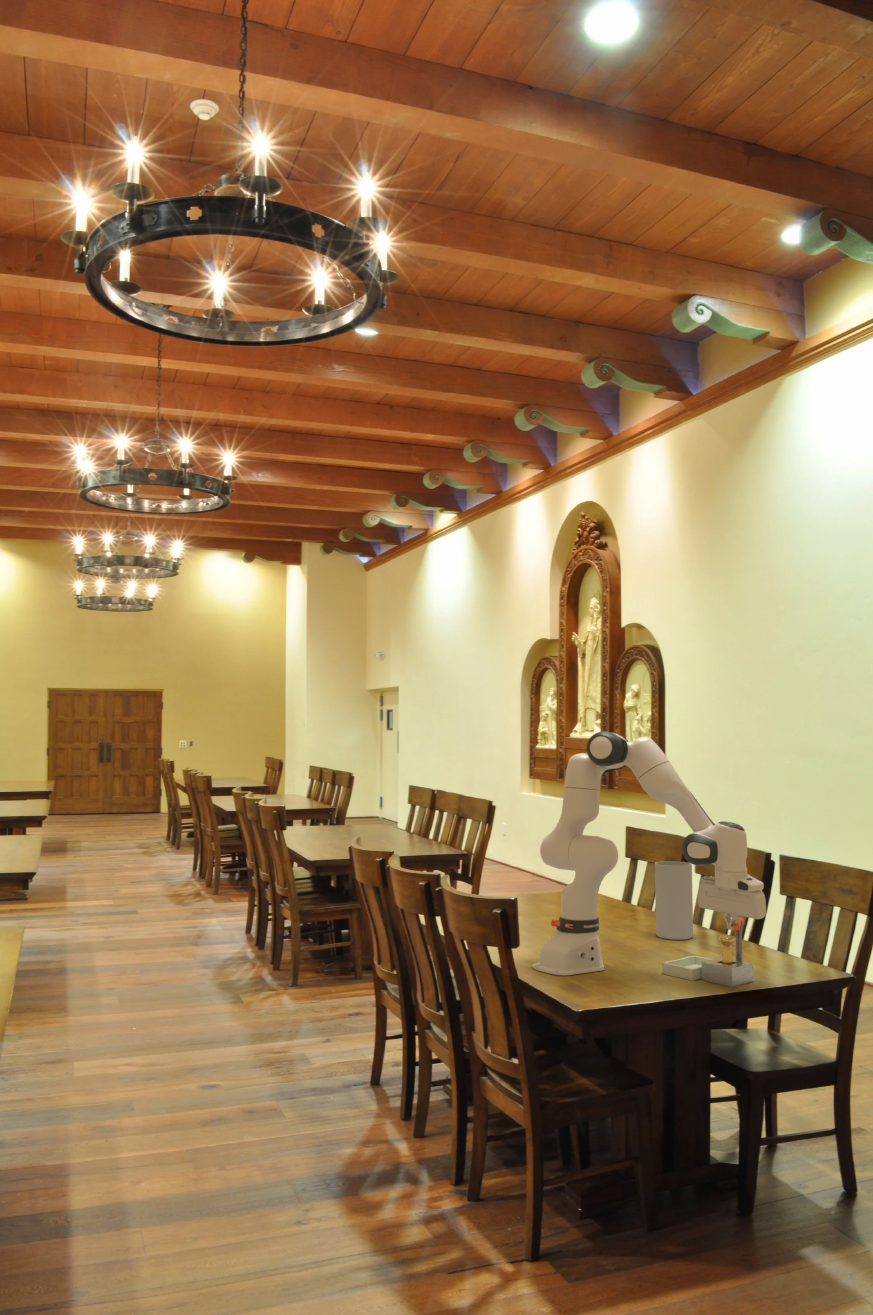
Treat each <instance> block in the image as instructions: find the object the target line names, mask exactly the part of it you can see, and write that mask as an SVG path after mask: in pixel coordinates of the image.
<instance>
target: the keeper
mask: <svg viewBox="0 0 873 1315" xmlns="http://www.w3.org/2000/svg"><path fill="white" fill-rule="evenodd" d="M741 925H742V926H743V925H745V918H741V917H738V919H737V921H736V922H735V923H734V925H733V930H732V931H735V930H739V929H740V926H741Z"/></svg>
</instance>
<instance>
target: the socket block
mask: <svg viewBox="0 0 873 1315" xmlns="http://www.w3.org/2000/svg"><path fill="white" fill-rule="evenodd" d="M742 926H743V925H741V926H740V929H739V930H734V932H735V933H734V935H735V958H732V959H733V964H731V965H727V964H722V958H721V957H716V958H713V959H712V958H711V959H712V960H707V961H703V962H702V978H701V980H702V981H706V982H711V983H713V984H717V985H723V986H728V987H730V988H731V987H732V988H734V987H737V986H740V985H745V984H747V983H751V982H754V971H753V970H754V967H753V966H754V965H753V962H749V961H744V960H743V927H742Z"/></svg>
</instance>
